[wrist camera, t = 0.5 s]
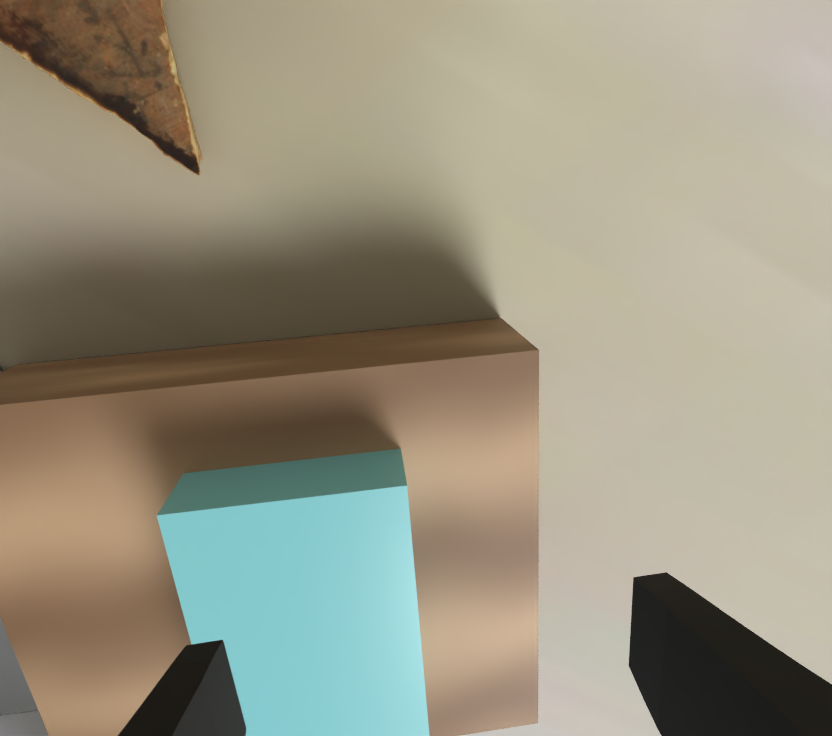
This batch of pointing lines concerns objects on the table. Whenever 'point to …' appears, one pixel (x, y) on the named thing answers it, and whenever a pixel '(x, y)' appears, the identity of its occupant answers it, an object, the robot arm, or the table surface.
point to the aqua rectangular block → (305, 591)
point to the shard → (109, 62)
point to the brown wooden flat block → (263, 444)
